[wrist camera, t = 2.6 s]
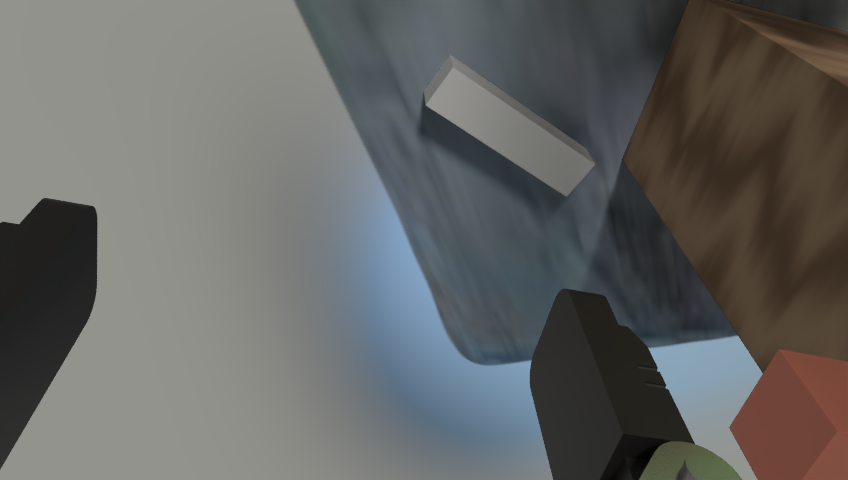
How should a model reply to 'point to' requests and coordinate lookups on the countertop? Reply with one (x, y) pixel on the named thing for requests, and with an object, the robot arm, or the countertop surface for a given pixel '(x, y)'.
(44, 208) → the robot arm
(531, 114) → the light gray bar
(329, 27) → the countertop surface
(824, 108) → the stand
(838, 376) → the red plug
